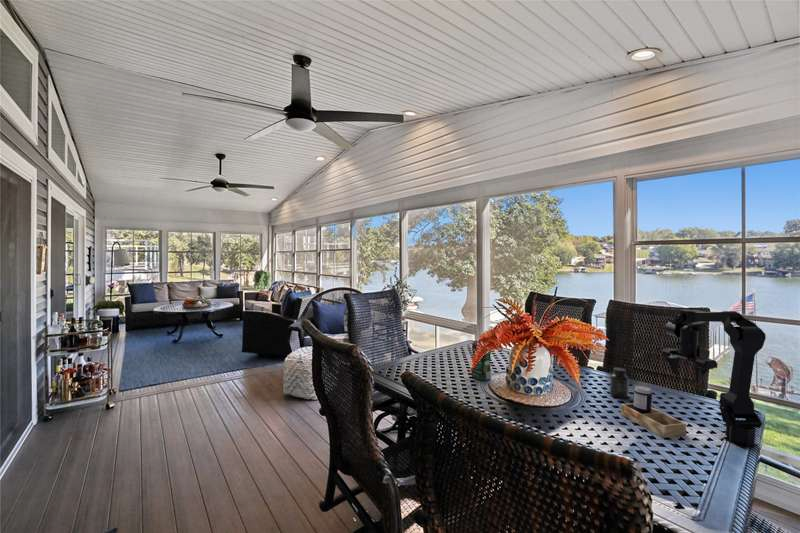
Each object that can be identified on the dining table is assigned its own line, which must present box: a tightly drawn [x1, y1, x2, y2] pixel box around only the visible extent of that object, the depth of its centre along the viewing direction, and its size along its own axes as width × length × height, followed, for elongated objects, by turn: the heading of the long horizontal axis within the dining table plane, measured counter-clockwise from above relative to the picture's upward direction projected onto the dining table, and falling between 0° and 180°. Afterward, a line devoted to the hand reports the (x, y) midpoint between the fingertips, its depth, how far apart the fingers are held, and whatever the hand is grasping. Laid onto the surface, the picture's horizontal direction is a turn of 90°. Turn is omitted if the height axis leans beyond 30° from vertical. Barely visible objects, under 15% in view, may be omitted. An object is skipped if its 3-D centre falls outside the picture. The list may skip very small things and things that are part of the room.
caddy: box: [620, 402, 687, 439], centre depth 136 cm, size 18×10×4 cm, turn 12°
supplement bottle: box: [609, 367, 629, 400], centre depth 162 cm, size 7×7×12 cm
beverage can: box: [633, 385, 653, 414], centre depth 140 cm, size 6×6×12 cm
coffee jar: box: [470, 339, 492, 381], centre depth 183 cm, size 10×8×19 cm
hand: (686, 378), depth 147 cm, fingers open, 9 cm apart
